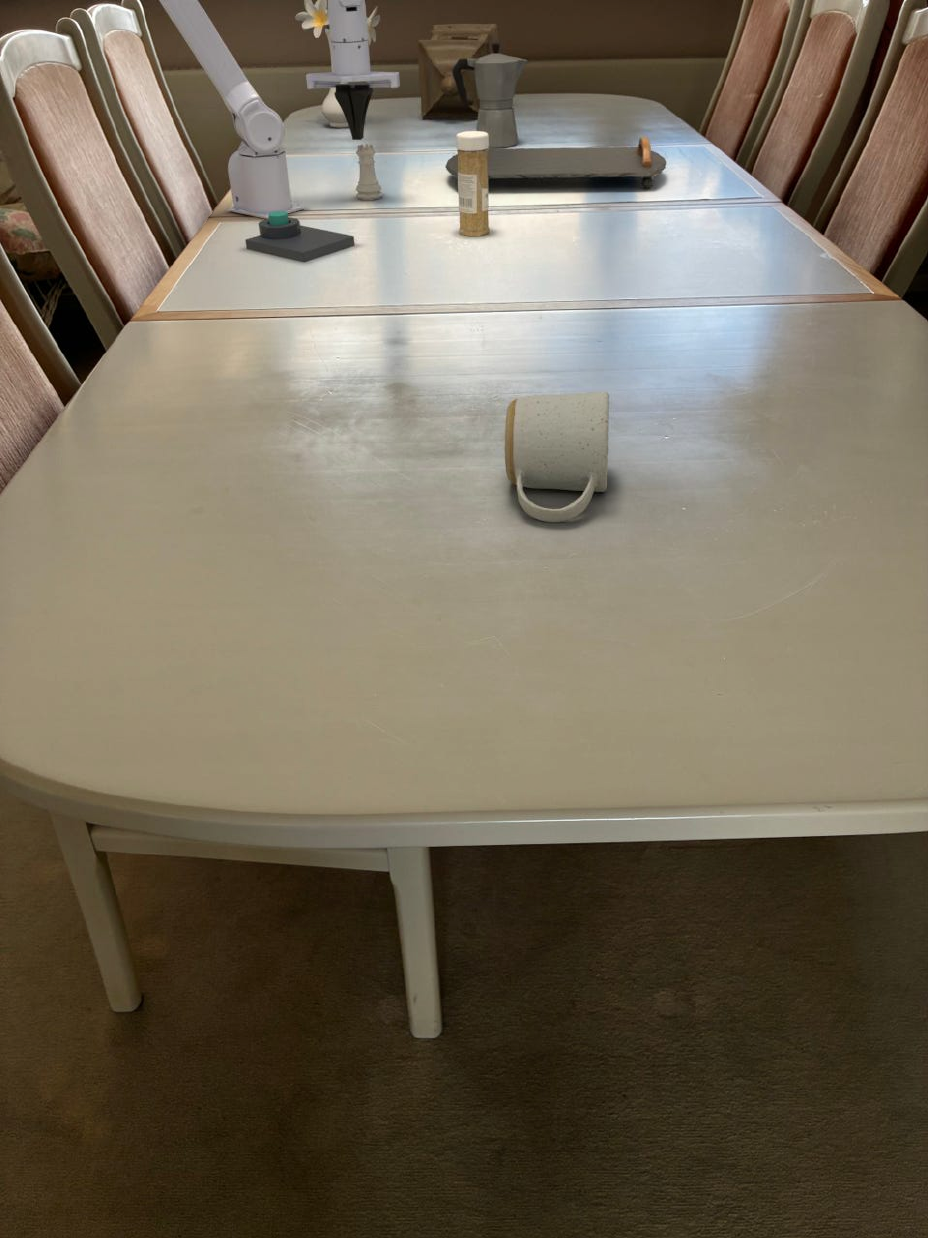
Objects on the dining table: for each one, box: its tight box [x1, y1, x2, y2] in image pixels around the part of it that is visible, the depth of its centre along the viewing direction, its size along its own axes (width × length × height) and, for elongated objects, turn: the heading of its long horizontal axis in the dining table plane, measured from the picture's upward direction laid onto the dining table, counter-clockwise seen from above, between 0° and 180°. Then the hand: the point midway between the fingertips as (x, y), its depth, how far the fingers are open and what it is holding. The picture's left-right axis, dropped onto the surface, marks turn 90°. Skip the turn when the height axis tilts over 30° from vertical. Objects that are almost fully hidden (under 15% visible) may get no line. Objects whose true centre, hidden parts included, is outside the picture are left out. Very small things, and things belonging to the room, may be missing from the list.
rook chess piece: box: [355, 143, 383, 201], centre depth 159 cm, size 4×4×8 cm
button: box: [268, 211, 289, 225], centre depth 138 cm, size 3×3×2 cm
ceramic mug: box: [504, 391, 610, 523], centre depth 75 cm, size 11×8×8 cm
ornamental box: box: [417, 23, 499, 119], centre depth 225 cm, size 35×18×18 cm, turn 173°
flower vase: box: [294, 0, 381, 129], centre depth 213 cm, size 13×18×25 cm
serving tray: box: [444, 136, 667, 190], centre depth 169 cm, size 39×23×6 cm, turn 86°
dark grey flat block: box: [245, 216, 356, 263], centre depth 137 cm, size 13×10×3 cm
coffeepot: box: [452, 42, 529, 149], centre depth 192 cm, size 15×9×18 cm, turn 103°
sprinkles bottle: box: [455, 130, 490, 237], centre depth 138 cm, size 5×5×14 cm
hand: (357, 138), depth 154 cm, fingers closed
